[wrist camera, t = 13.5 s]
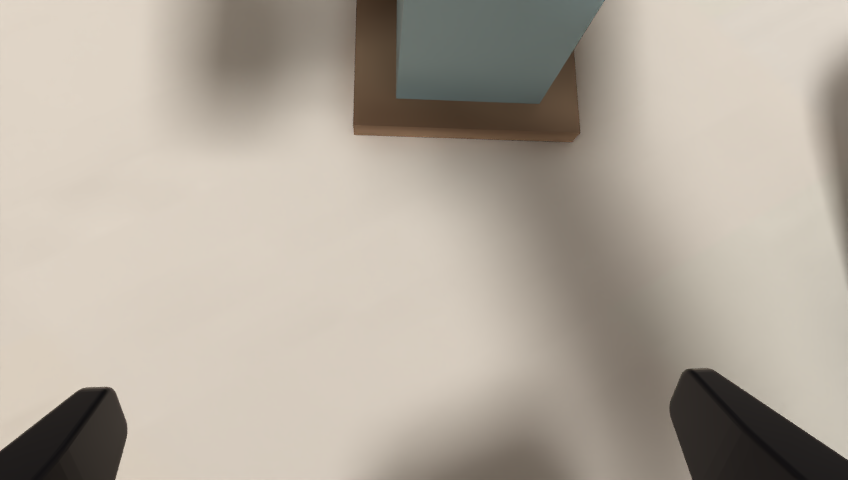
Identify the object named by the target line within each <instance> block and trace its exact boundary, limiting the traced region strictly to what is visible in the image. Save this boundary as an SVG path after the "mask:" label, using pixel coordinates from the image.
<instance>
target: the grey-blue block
mask: <svg viewBox="0 0 848 480" xmlns="http://www.w3.org/2000/svg"><path fill="white" fill-rule="evenodd" d="M604 1H605V0H397V29H396V98H398V99H423V100H449V101H475V102H501V103H526V104H540V102H541V101H542V99H543V97H544V96H545V94H546V93H547V91H548V89H549V88H550V86H551V85H552V83H553V81H554V80H555V78H556V77H557V75H558V74H559V72H560V70H561V69H562V67H563V66H564V64H565V62H566V61H567V59H568V58H569V56H570V55H571V53H572V51H573V50H574V48H575V47H576V45H577V43H578V42H579V40H580V39H581V37H582V36H583V34H584V32H585V31H586V29H587V28H588V26H589V24H590V23H591V21H592V20H593V18H594V16H595V15H596V13H597V12H598V10H599V9H600V7H601V5H602V4H603V2H604Z"/></svg>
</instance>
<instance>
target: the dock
mask: <svg viewBox="0 0 848 480" xmlns="http://www.w3.org/2000/svg"><path fill="white" fill-rule="evenodd" d="M396 29H397V0H357V8H356V44H355V81H354V117H353V128H354V135H377V136H407V137H437V138H467V139H497V140H527V141H557V142H573V140H574V139H575V138H576V137H577V136H578V135H579V134H580V125H579V111H578V98H577V85H576V72H575V59H574V50H573V51H572V53H571V55H570V56H569V58H568V59H567V61H566V62H565V64H564V66H563V67H562V69H561V70H560V72H559V74H558V75H557V77H556V78H555V80H554V81H553V83H552V85H551V86H550V88H549V89H548V91H547V93H546V94H545V96H544V97H543V99H542V101H541V102H540V104H526V103H501V102H475V101H449V100H423V99H398V98H396Z"/></svg>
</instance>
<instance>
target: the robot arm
mask: <svg viewBox="0 0 848 480" xmlns="http://www.w3.org/2000/svg"><path fill="white" fill-rule="evenodd" d="M669 409H670V416H671V420H672V422H673V425H674V428H675V431H676V434H677V437H678V440H679V443H680V445H681V448H682V451H683V454H684V457H685V460H686V463H687V465H688V468H689V471H690V474H691V477H692V480H848V460H847V459H845V458H844V457H842V456H841V455H839V454H838V453H837V452H835V451H834V450H832V449H831V448H829V447H828V446H826V445H825V444H823V443H822V442H820V441H819V440H817V439H816V438H814V437H813V436H811V435H810V434H808V433H807V432H805V431H804V430H802V429H801V428H799V427H798V426H796V425H795V424H793V423H792V422H790V421H789V420H787V419H786V418H784V417H783V416H781V415H780V414H778V413H777V412H775V411H774V410H772V409H771V408H769V407H768V406H766V405H765V404H763V403H762V402H760V401H759V400H757V399H756V398H755V397H753V396H752V395H750V394H749V393H747V392H746V391H744V390H743V389H741V388H740V387H738V386H737V385H735V384H734V383H732V382H731V381H729V380H728V379H726V378H725V377H723V376H722V375H720V374H719V373H717V372H716V371H714V370H712V369H708V368H698V369H686V370H685V371H684V372H683V373H682V374H681V377H680V379H679V381H678V384H677V386H676V389H675V391H674V394H673V396H672V398H671V401H670V407H669ZM126 438H127V422H126V419H125V417H124V414H123V411H122V408H121V406H120V403H119V400H118V397H117V395H116V393H115V391H114V390H113V389H112V388H110V387H88V388H82V389H80V390H78V391H77V392H75V393H74V394H73V395H72V396H70V397H69V398H68V399H66V400H65V401H64V402H63V403H61V404H60V405H59V406H57V407H56V408H55V409H54V410H52V411H51V412H50V413H48V414H47V415H46V416H45V417H43V418H42V419H41V420H39V421H38V422H37V423H36V424H34V425H33V426H32V427H30V428H29V429H28V430H27V431H25V432H24V433H23V434H21V435H20V436H19V437H18V438H16V439H15V440H14V441H13V442H11V443H10V444H9V445H7V446H6V447H5V448H4V449H2V450H1V451H0V480H115V479H116V475H117V471H118V468H119V464H120V460H121V457H122V453H123V449H124V446H125V442H126Z"/></svg>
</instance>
